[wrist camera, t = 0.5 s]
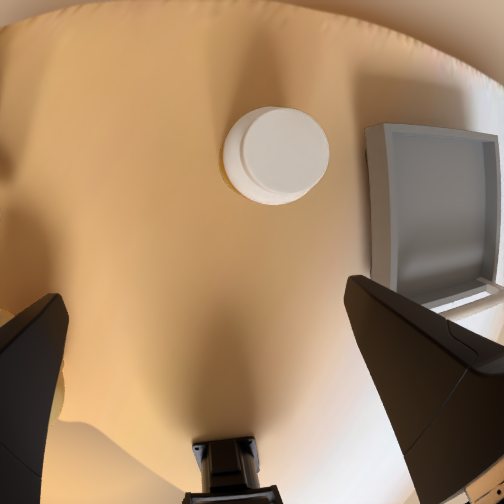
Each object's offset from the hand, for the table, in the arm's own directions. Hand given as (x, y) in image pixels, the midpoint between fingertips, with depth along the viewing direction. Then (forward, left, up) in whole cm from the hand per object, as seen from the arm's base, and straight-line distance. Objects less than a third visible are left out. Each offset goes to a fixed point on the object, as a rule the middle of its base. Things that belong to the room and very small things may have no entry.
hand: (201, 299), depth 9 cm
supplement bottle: (+4, -4, -15) cm, 16 cm away
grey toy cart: (-1, -19, -15) cm, 24 cm away
